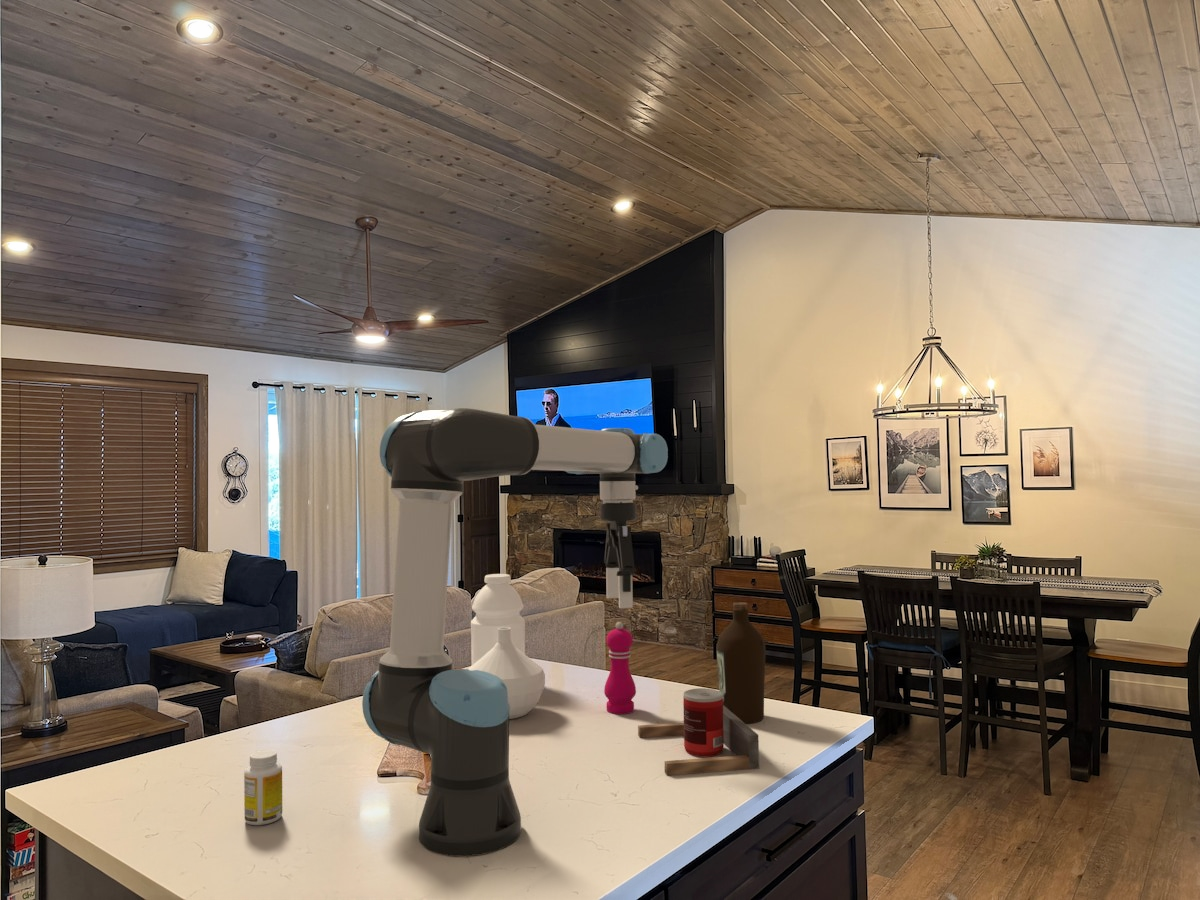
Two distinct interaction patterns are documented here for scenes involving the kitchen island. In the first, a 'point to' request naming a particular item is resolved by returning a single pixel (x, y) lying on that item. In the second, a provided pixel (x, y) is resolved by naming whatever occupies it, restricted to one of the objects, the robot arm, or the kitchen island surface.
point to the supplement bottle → (263, 788)
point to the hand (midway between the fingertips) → (619, 602)
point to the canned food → (703, 722)
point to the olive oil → (742, 667)
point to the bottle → (496, 616)
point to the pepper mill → (619, 672)
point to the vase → (513, 673)
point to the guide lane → (735, 739)
